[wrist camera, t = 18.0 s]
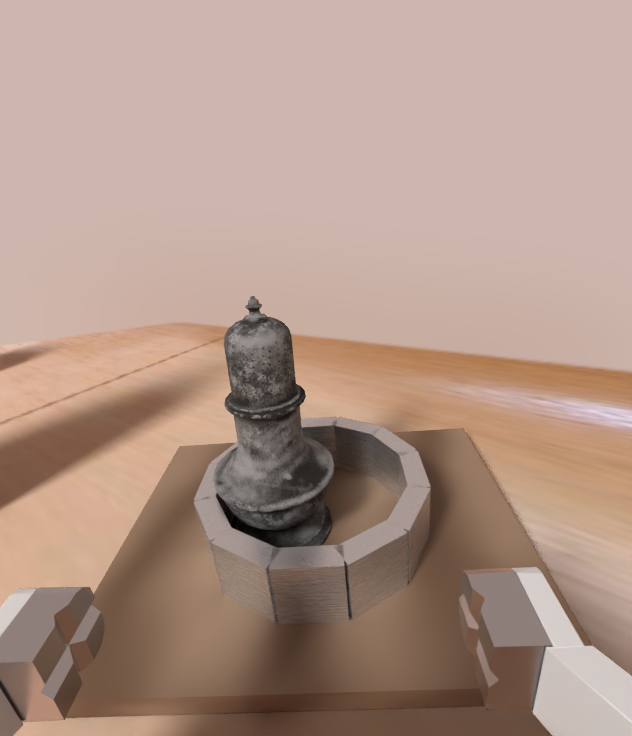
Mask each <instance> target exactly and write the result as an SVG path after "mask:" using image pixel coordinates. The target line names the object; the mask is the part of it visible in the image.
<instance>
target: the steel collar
mask: <svg viewBox="0 0 632 736" xmlns="http://www.w3.org/2000/svg"><path fill="white" fill-rule="evenodd" d="M301 427H302V433H303V436H304V437H307V438H310V439H313V440H315V441H317V442H319V443H320V444H322V445H323V446H325V447H326V448H327V450H328V451H329V452H330V453H331V455H332V457H333V461H334V467H339V468H343V469H346V470H349V471H353V472H356V473H360V474H363V475H367V476H370V477H373V478H374V479H376V480H377V481H378V482H379V483H380V484H381V485H382V486H384V487H385V488H386V489H387V490H388V491H389V492H390V493H392V494H393V495H394V496H395V497H396V498H397V499H398V500H399V501H398V503H397V504H396V506H395V508H394V509H393V511H392V513H391V515H390V516H389V518H388V520H386V521H384V522H382V523H380V524H378V525H376V526H374V527H372V528H370V529H368V530H366V531H364V532H362V533H360V534H358V535H356V536H355V537H353V538H351V539H349V540H347V541H345V542H343V543H341V544H339V545H324V546H304V547H284V548H276V547H274V546H272V545H270V544H267V543H265V542H263V541H261V540H258V539H256V538H254V537H251V536H249V535H247V534H245V533H242V532H240V531H238V530H236V529H233V528H231V522H232V520H233V518H234V516H235V514H234V513H233V512H232V511H231V509H230V508H229V507H228V506H227V505H226V503H225V501H224V500H223V499H222V498H221V497H220V496H219V495H218V493H217V492H216V490H215V486H214V482H213V477H214V471H215V469H216V467H217V465H218V464H219V462H220V460H221V459H222V458H223V457H224V456H225V455H226V454H227V453H228V452H230V451H231V450H233V449H234V448H236V447H237V446H238V441H237V442H236V443H235V444H234V445H232V446H231V447H230V448H228V449H227V450H226V451H224V452H223V453H222V454H221V455H219V456H218V457H217V458H215V459H214V460H213V461H211V464H209V466H208V468H207V470H206V473H205V475H204V477H203V479H202V482H201V484H200V486H199V489H198V491H197V493H196V496H195V498H194V505H195V509H196V513H197V517H198V521H199V525H200V529H201V533H202V536H203V540H204V544H205V548H206V551H207V554H208V556H209V559H210V562H211V564H212V567H213V569H214V572H215V575H216V577H217V580H218V582H219V585H220V588H221V590H222V593H223V592H224V595H226V596H228V597H229V598H231V599H233V600H235V601H237V602H238V603H240V604H242V605H244V606H246V607H247V608H249V609H251V610H253V611H254V612H256V613H258V614H260V615H262V616H263V617H265V618H267V619H269V620H271V621H272V622H274V623H276V622H277V621H279V624H295V623H320V622H345V621H349V616H350V617H351V619H352V620H354V619H355V618H357V617H359V616H360V615H362V614H364V613H365V612H367V611H368V610H370V609H372V608H373V607H375V606H377V605H378V604H380V603H381V602H383V601H385V600H386V599H388V598H390V597H391V596H393V595H394V594H396V593H398V592H399V591H401V590H403V589H404V588H406V587H407V586H408V584H410V582H411V580H412V577H413V575H414V573H415V570H416V568H417V566H418V563H419V561H420V559H421V557H422V554H423V552H424V550H425V547H426V545H427V543H428V540H429V530H430V491H431V486H430V483H429V481H428V478H427V475H426V472H425V470H424V467H423V464H422V461H421V458H420V456H419V453H418V451H416V449H415V448H414V447H412V446H411V445H409V444H408V443H406V442H405V441H403V440H402V439H400V438H399V437H397V436H396V435H395V434H393V433H392V432H390V431H389V430H387V429H386V428H384V427H382V428H381V426H379V425H374V424H369V423H365V422H360V421H356V420H351V419H346V418H342V417H338V418H337V417H325V418H310V419H301Z"/></svg>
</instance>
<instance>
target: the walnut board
mask: <svg viewBox="0 0 632 736" xmlns="http://www.w3.org/2000/svg"><path fill="white" fill-rule="evenodd" d="M393 434H395V435H396V436H397V437H399V438H400V439H402V440H403V441H405V442H406V443H408V444H409V445H411V446H412V447H414V448H415V449H416V451H418V453H419V456H420V458H421V461H422V464H423V467H424V470H425V472H426V475H427V478H428V481H429V483H430V486H431V491H430V530H429V540H428V543H427V545H426V547H425V550H424V552H423V554H422V557H421V559H420V561H419V563H418V566H417V568H416V570H415V573H414V575H413V577H412V580H411V582H410V584H408V586H407V587H406V588H404V589H403V590H401V591H399V592H398V593H396V594H394V595H393V596H391V597H390V598H388V599H386V600H385V601H383V602H381V603H380V604H378V605H377V606H375V607H373V608H372V609H370V610H368V611H367V612H365V613H364V614H362V615H360V616H359V617H357V618H355V619H354V620H352V619H351V617H350V616H349V621H345V622H320V623H295V624H279V621H277V622H276V623H274V622H272V621H271V620H269V619H267V618H265V617H263V616H262V615H260V614H258V613H256V612H254V611H253V610H251V609H249V608H247V607H246V606H244V605H242V604H240V603H238V602H237V601H235V600H233V599H231V598H229V597H228V596H226V595H224V592H223V593H222V590H221V588H220V585H219V582H218V580H217V577H216V575H215V572H214V569H213V567H212V564H211V562H210V559H209V556H208V554H207V551H206V548H205V544H204V540H203V536H202V533H201V529H200V525H199V521H198V517H197V513H196V509H195V505H194V498H195V496H196V493H197V491H198V489H199V486H200V484H201V482H202V479H203V477H204V475H205V473H206V470H207V468H208V466H209V464H211V461H213V460H214V459H215V458H217V457H218V456H219V455H221V454H222V453H223V452H224V451H226V450H227V449H228V448H230V447H231V446H232V445H234V444H235V443H225V444H210V445H194V446H180V447H179V448H178V450H177V452H176V454H175V455H174V457H173V459H172V460H171V462H170V464H169V466H168V467H167V469H166V471H165V472H164V474H163V476H162V478H161V479H160V481H159V483H158V485H157V486H156V488H155V490H154V491H153V493H152V495H151V497H150V498H149V500H148V502H147V503H146V505H145V507H144V509H143V510H142V512H141V514H140V516H139V517H138V519H137V521H136V522H135V524H134V526H133V528H132V529H131V531H130V533H129V534H128V536H127V538H126V540H125V541H124V543H123V545H122V547H121V548H120V550H119V552H118V553H117V555H116V557H115V559H114V560H113V562H112V564H111V565H110V567H109V569H108V571H107V572H106V574H105V576H104V578H103V579H102V581H101V583H100V584H99V586H98V588H97V590H96V591H95V593H94V597H95V599H94V601H93V602H92V604H91V605H92V606H94V607H95V608H96V609H98V610H99V611H101V613H102V616H103V618H104V627H105V631H104V636H103V640H102V645H101V647H100V649H99V651H98V654H97V656H96V658H95V660H94V661H93V662H92V663H91V664H90V665H88V666H87V667H86V668H85V669H84V670H83V671H82V679H83V684H82V686H81V688H80V690H79V692H78V694H77V696H76V698H75V700H74V702H73V704H72V706H71V708H70V710H69V712H68V714H67V716H66V718H76V717H111V716H147V715H182V714H218V713H253V712H288V711H324V710H359V709H395V708H430V707H465V706H485V704H484V701H483V698H482V694H481V691H480V688H479V685H478V682H477V679H476V676H475V673H474V669H475V656H474V655H473V654H472V653H471V652H470V651H469V650H468V649H467V647H466V644H465V640H464V637H463V633H462V629H461V624H460V617H459V597H460V596H461V595H462V594H463V590H462V587H461V584H460V579H461V573H462V571H463V570H476V569H494V568H510V569H511V568H524V567H537V568H538V569H539V570H540V571H541V572H542V573H543V575H544V577H545V578H546V580H547V582H548V584H549V585H550V587H551V589H552V590H553V592H554V594H555V596H556V597H557V599H558V601H559V602H560V604H561V606H562V608H563V609H564V611H565V613H566V614H567V616H568V618H569V620H570V621H571V623H572V625H573V626H574V628H575V630H576V632H577V633H578V635H579V637H580V638H581V640H582V642H583V644H584V645H585V646H592V644H591V643H590V641H589V639H588V638H587V636H586V634H585V633H584V631H583V629H582V627H581V626H580V624H579V622H578V621H577V619H576V617H575V616H574V614H573V612H572V611H571V609H570V607H569V606H568V604H567V602H566V601H565V599H564V597H563V595H562V594H561V592H560V590H559V589H558V587H557V585H556V584H555V582H554V580H553V579H552V577H551V575H550V574H549V572H548V570H547V569H546V567H545V565H544V563H543V562H542V560H541V558H540V557H539V555H538V553H537V552H536V550H535V548H534V547H533V545H532V543H531V542H530V540H529V538H528V536H527V535H526V533H525V531H524V530H523V528H522V526H521V525H520V523H519V521H518V520H517V518H516V516H515V515H514V513H513V511H512V510H511V508H510V506H509V504H508V503H507V501H506V499H505V498H504V496H503V494H502V493H501V491H500V489H499V488H498V486H497V484H496V483H495V481H494V479H493V478H492V476H491V474H490V472H489V471H488V469H487V467H486V466H485V464H484V462H483V461H482V459H481V457H480V456H479V454H478V452H477V451H476V449H475V447H474V446H473V444H472V442H471V440H470V439H469V437H468V435H467V434H466V432H465V430H464V429H463V428H459V429H444V430H428V431H413V432H397V433H393ZM323 501H324V502H325V503H326V505H327V506H328V508H329V509H330V513H331V518H332V525H331V531H330V533H329V535H328V537H327V539H326V541H325V542H324V543H323V544H322V545H321V546H324V545H339V544H341V543H343V542H345V541H347V540H349V539H351V538H353V537H355V536H356V535H358V534H360V533H362V532H364V531H366V530H368V529H370V528H372V527H374V526H376V525H378V524H380V523H382V522H384V521H386V520H388V518H389V516H390V515H391V513H392V511H393V509H394V508H395V506H396V504H397V503H398V501H399V500H398V499H397V498H396V497H395V496H394V495H393V494H392V493H390V492H389V491H388V490H387V489H386V488H385V487H384V486H382V485H381V484H380V483H379V482H378V481H377V480H376V479H374V478H373V477H370V476H367V475H363V474H360V473H356V472H353V471H349V470H346V469H343V468H339V467H334V472H333V477H332V478H331V480H330V482H329V483H328V488H327V491H326V494H325V496H324V499H323Z"/></svg>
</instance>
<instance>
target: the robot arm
mask: <svg viewBox="0 0 632 736" xmlns="http://www.w3.org/2000/svg"><path fill="white" fill-rule="evenodd" d="M460 584H461V587H462V590H463V594H462V595H461V596H460V597H459V617H460V624H461V629H462V633H463V637H464V640H465V644H466V647H467V649H468V650H469V651H470V652H471V653H472V654H473V655H474V656H475V669H474V673H475V676H476V679H477V682H478V685H479V688H480V691H481V694H482V698H483V701H484V704H485V707H486V710H533V714H534V715H535V716H536V717H537V719H538V720H539V721H540V722H541V723H542V724H543V725H544V727H545V728H546V729H547V730H548V731H549V732H550V734H551V735H552V736H632V676H631V675H630V674H629V673H628V672H626V671H625V670H624V669H622V668H621V667H620V666H618V665H617V664H616V663H615V662H613V661H612V660H611V659H609V658H608V657H607V656H606V655H604V654H603V653H602V652H600V651H599V650H598V649H597V648H595V647H594V646H585V645H584V644H583V642H582V640H581V638H580V637H579V635H578V633H577V632H576V630H575V628H574V626H573V625H572V623H571V621H570V620H569V618H568V616H567V614H566V613H565V611H564V609H563V608H562V606H561V604H560V602H559V601H558V599H557V597H556V596H555V594H554V592H553V590H552V589H551V587H550V585H549V584H548V582H547V580H546V578H545V577H544V575H543V573H542V572H541V571H540V570H539V569H538V568H537V567H524V568H511V569H510V568H494V569H476V570H463V571H462V573H461V579H460ZM94 599H95V597H94V595H93V593H92V591H91V589H90V587H55V588H20V589H18V590H17V591H15V592H14V593H12V594H11V595H10V596H9V597H8V598H7V600H6V601H5V602H4V603H3V605H2V606H1V607H0V736H13V735H14V734H15V733H16V732H17V731H18V730H19V729H20V728H21V727H22V726H23V723H22V722H36V721H53V720H65V718H66V716H67V714H68V712H69V710H70V708H71V706H72V704H73V702H74V700H75V698H76V696H77V694H78V692H79V690H80V688H81V686H82V684H83V679H82V671H83V670H84V669H85V668H86V667H87V666H88V665H90V664H91V663H92V662H93V661H94V660H95V658H96V656H97V654H98V651H99V649H100V647H101V645H102V640H103V636H104V631H105V627H104V618H103V616H102V613H101V611H99V610H98V609H96V608H95V607H94V606H92V605H91V604H92V602H93V601H94Z"/></svg>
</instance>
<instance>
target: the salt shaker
mask: <svg viewBox="0 0 632 736" xmlns="http://www.w3.org/2000/svg"><path fill="white" fill-rule="evenodd" d="M261 306H262V304H259V301H258V300H257V299H255V297H254V296H252V297H251V298H250V300H249V301H248V305H247V306H246V308H247V309H248V310H249V315H247V316H245V317H244V319H243V320H240V321H238V322H236V323H235V324H234V325H232V326H231V327H230V328H229V329H228V331H227V332H226V334H225V337H224V348H225V354H226V360H227V366H228V373H229V379H230V385H231V391H232V392H231V393H230V394H229V395H228V396H227V398H226V399H225V407H226V409H227V410H228V411H229V412H230V413H231V414H233V415H234V420H235V426H236V432H237V438H238V446H237V447H236V448H234V449H233V450H231V451H230V452H228V453H227V454H226V455H225V456H224V457H223V458H222V459H221V460H220V462H219V464H218V465H217V467H216V469H215V471H214V477H213V482H214V486H215V490H216V492H217V493H218V495H219V496H220V497H221V498H222V499H223V500H224V501H225V503H226V505H227V506H228V507H229V508H230V509H231V511H232V512H233V513H234V514H235V516H234V518H233V520H232V522H231V528H233V529H236V530H238V531H240V532H242V533H245V534H247V535H249V536H251V537H254V538H256V539H258V540H261V541H263V542H265V543H267V544H270V545H272V546H274V547H276V548H284V547H304V546H321V545H322V544H323V543H324V542H325V541H326V539H327V537H328V535H329V533H330V531H331V525H332V518H331V513H330V509H329V508H328V506H327V505H326V503H325V502H324V501H323V499H324V496H325V494H326V491H327V488H328V483H329V482H330V480H331V478H332V477H333V472H334V461H333V457H332V455H331V453H330V452H329V451H328V450H327V448H326V447H325V446H323V445H322V444H320V443H319V442H317V441H315V440H313V439H310V438H307V437H304V436H303V433H302V427H301V416H300V405H301V404H302V403H303V402H304V399H305V397H306V396H305V391H304V389H303V388H302V387H301V386H299V385H297V384H296V380H295V370H294V359H293V348H292V338H291V334H290V331H289V329H288V327H287V326H286V325H285V324H284V323H283V322H281V321H279V320H277V319H275V318H271V317H267V316H266V315H265V314H261V313H260V311H259V309H260V307H261Z"/></svg>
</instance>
